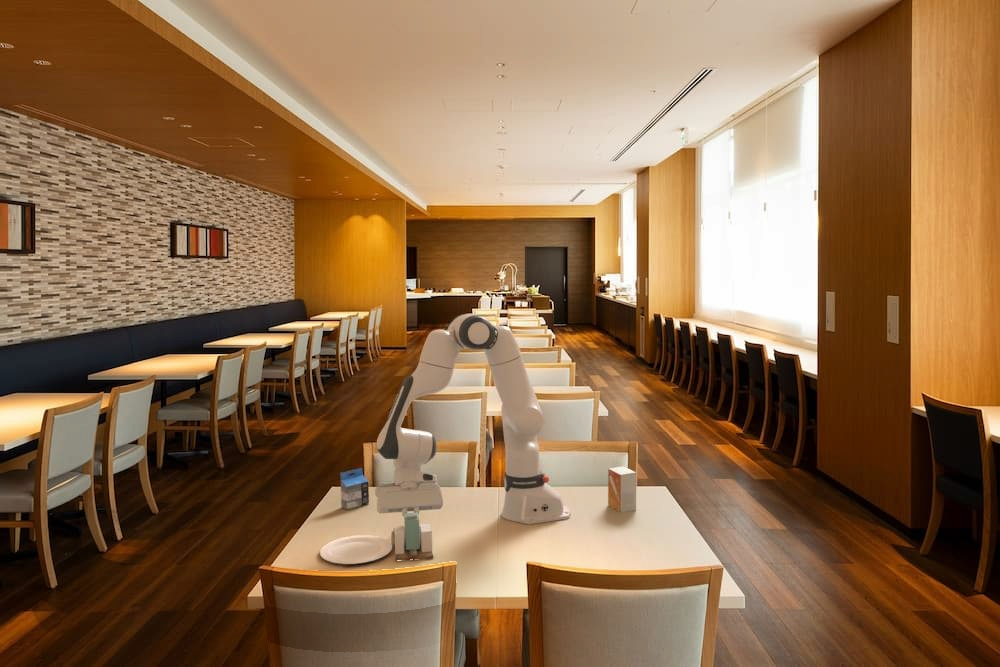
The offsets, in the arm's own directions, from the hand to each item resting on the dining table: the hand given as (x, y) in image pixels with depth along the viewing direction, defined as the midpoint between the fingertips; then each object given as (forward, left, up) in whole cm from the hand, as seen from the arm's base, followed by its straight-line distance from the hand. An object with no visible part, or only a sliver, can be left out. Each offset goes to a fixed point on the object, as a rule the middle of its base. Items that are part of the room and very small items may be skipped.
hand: (411, 523), depth 227 cm
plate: (+16, +6, -6) cm, 18 cm away
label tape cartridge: (+18, -35, -6) cm, 40 cm away
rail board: (0, +3, -5) cm, 6 cm away
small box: (-71, -15, -6) cm, 73 cm away
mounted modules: (0, +9, -4) cm, 10 cm away
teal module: (0, +8, -4) cm, 9 cm away
